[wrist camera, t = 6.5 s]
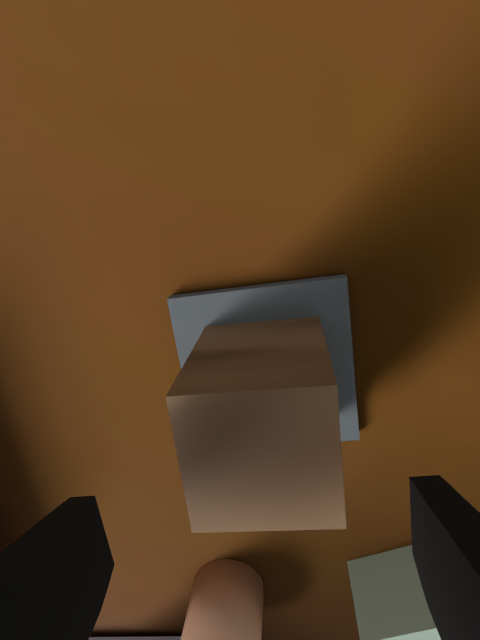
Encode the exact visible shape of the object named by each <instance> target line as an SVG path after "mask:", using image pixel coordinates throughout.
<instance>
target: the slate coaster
mask: <svg viewBox="0 0 480 640" xmlns="http://www.w3.org/2000/svg"><path fill="white" fill-rule="evenodd" d="M167 302H168V307H169V312H170V317H171V322H172V327H173V331H174V336H175V341H176V346H177V351H178V356H179V361H180V366H181V369H182V367H183V365H184V364H185V362H186V360H187V358H188V356H189V355H190V353H191V351H192V349H193V347H194V346H195V344H196V342H197V340H198V339H199V337H200V335H201V333H202V331H203V330H204V328H205V326H216V325H227V324H238V323H250V322H261V321H272V320H283V319H294V318H305V317H317V316H319V318H320V322H321V326H322V329H323V333H324V337H325V341H326V345H327V348H328V352H329V356H330V360H331V363H332V367H333V371H334V375H335V378H336V382H337V389H338V404H339V420H340V435H341V441H352V440H360V438H359V425H358V412H357V399H356V386H355V373H354V360H353V347H352V334H351V321H350V308H349V295H348V281H347V276H346V275H345V274H341V275H333V276H324V277H316V278H308V279H300V280H292V281H284V282H276V283H267V284H259V285H251V286H243V287H235V288H227V289H219V290H210V291H202V292H194V293H186V294H178V295H171V296H170V297H169V298H168V299H167Z"/></svg>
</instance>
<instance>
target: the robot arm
mask: <svg viewBox="0 0 480 640" xmlns="http://www.w3.org/2000/svg"><path fill="white" fill-rule="evenodd" d="M409 480H410V504H411V528H412V552H413V557H414V560H415V564H416V567H417V571H418V575H419V578H420V582H421V585H422V588H423V592H424V595H425V599H426V602H427V605H428V608H429V610H430V613H431V615H432V618H433V621H434V623H435V626H436V628H437V631H438V633H439V636H440V638H441V640H480V513H479V512H478V511H477V510H476V509H475V508H474V507H473V506H472V505H471V504H470V503H469V502H468V501H466V500H465V499H464V498H463V497H462V496H461V495H460V494H459V493H458V492H457V491H456V490H455V489H454V488H453V487H452V486H451V485H450V484H449V483H447V482H446V481H445V480H444V479H443V478H442V477H441V476H439V475H435V476H419V477H409ZM113 567H114V561H113V558H112V554H111V551H110V547H109V544H108V540H107V537H106V534H105V530H104V527H103V523H102V520H101V516H100V513H99V509H98V506H97V502H96V499H95V496H84V497H71V498H69V499H68V500H66V501H65V502H64V503H62V504H61V505H60V506H58V507H57V508H56V509H54V510H53V511H52V512H51V513H49V514H48V515H47V516H46V517H44V518H43V519H42V520H41V521H39V522H38V523H37V524H36V525H34V526H33V527H32V528H31V529H29V530H28V531H27V532H26V533H25V534H23V535H22V536H21V537H20V538H18V539H17V540H16V541H15V542H14V543H12V544H11V545H10V546H9V547H7V548H6V549H5V550H4V551H2V552H1V553H0V640H181V636H147V637H90V635H91V633H92V630H93V628H94V626H95V623H96V621H97V618H98V616H99V613H100V611H101V608H102V604H103V601H104V598H105V595H106V592H107V589H108V585H109V581H110V578H111V574H112V571H113Z"/></svg>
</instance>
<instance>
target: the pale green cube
mask: <svg viewBox="0 0 480 640" xmlns="http://www.w3.org/2000/svg"><path fill="white" fill-rule="evenodd" d="M347 565H348V571H349V577H350V583H351V589H352V595H353V602H354V608H355V614H356V620H357V626H358V632H359V638H360V640H441V638H440V636H439V633H438V631H437V628H436V626H435V623H434V621H433V618H432V615H431V613H430V610H429V608H428V605H427V602H426V599H425V595H424V592H423V588H422V585H421V582H420V578H419V575H418V571H417V567H416V564H415V560H414V557H413V552H412V545H410V546H406V547H402V548H398V549H394V550H390V551H386V552H382V553H378V554H374V555H370V556H366V557H362V558H358V559H354V560H350V561H347Z"/></svg>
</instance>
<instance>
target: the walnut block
mask: <svg viewBox="0 0 480 640" xmlns="http://www.w3.org/2000/svg"><path fill="white" fill-rule="evenodd" d="M166 400H167V405H168V410H169V415H170V421H171V426H172V431H173V436H174V441H175V447H176V452H177V457H178V462H179V467H180V473H181V478H182V483H183V488H184V493H185V499H186V504H187V509H188V514H189V519H190V524H191V530H192V533H207V532H247V531H287V530H326V529H347V528H346V513H345V497H344V482H343V466H342V451H341V435H340V420H339V404H338V389H337V382H336V378H335V375H334V371H333V367H332V363H331V360H330V356H329V352H328V348H327V345H326V341H325V337H324V333H323V329H322V326H321V322H320V318H319V316H317V317H305V318H294V319H283V320H272V321H261V322H250V323H238V324H227V325H216V326H205V328H204V330H203V331H202V333H201V335H200V337H199V339H198V340H197V342H196V344H195V346H194V347H193V349H192V351H191V353H190V355H189V356H188V358H187V360H186V362H185V364H184V365H183V367H182V369H181V371H180V372H179V374H178V376H177V378H176V380H175V381H174V383H173V385H172V387H171V389H170V390H169V392H168V394H167V396H166Z"/></svg>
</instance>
